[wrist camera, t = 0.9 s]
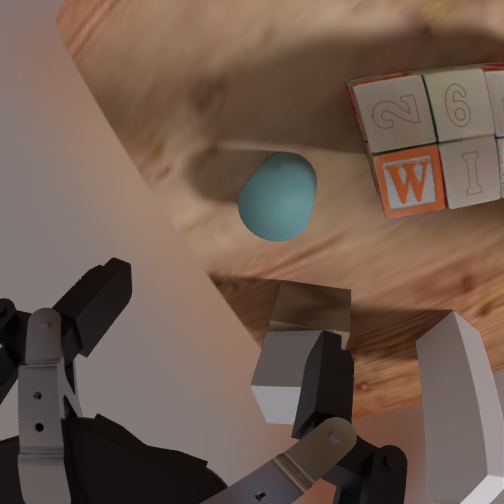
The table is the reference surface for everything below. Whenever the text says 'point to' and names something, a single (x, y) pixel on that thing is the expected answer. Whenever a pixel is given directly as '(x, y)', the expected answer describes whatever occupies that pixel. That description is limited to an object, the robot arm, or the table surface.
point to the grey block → (282, 373)
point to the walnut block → (312, 309)
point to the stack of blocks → (433, 136)
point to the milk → (460, 415)
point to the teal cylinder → (279, 197)
